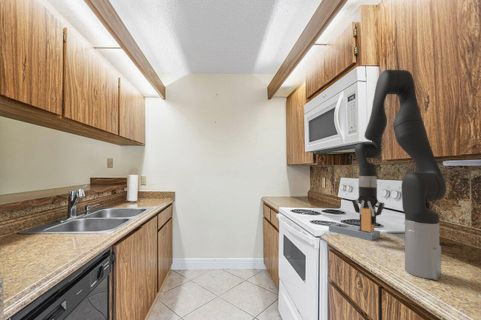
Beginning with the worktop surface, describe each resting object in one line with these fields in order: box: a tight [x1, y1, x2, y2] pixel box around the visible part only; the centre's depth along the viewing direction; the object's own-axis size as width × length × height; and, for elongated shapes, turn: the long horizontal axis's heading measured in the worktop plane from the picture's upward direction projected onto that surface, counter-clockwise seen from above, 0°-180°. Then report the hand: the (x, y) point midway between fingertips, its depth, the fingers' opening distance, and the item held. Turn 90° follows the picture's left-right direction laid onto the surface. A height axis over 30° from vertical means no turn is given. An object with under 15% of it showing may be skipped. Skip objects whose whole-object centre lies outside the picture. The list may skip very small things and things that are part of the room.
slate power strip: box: [328, 220, 381, 242], centre depth 127 cm, size 22×10×10 cm, turn 40°
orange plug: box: [361, 208, 375, 232], centre depth 112 cm, size 4×4×10 cm
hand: (367, 223), depth 112 cm, fingers closed on orange plug, 4 cm apart
